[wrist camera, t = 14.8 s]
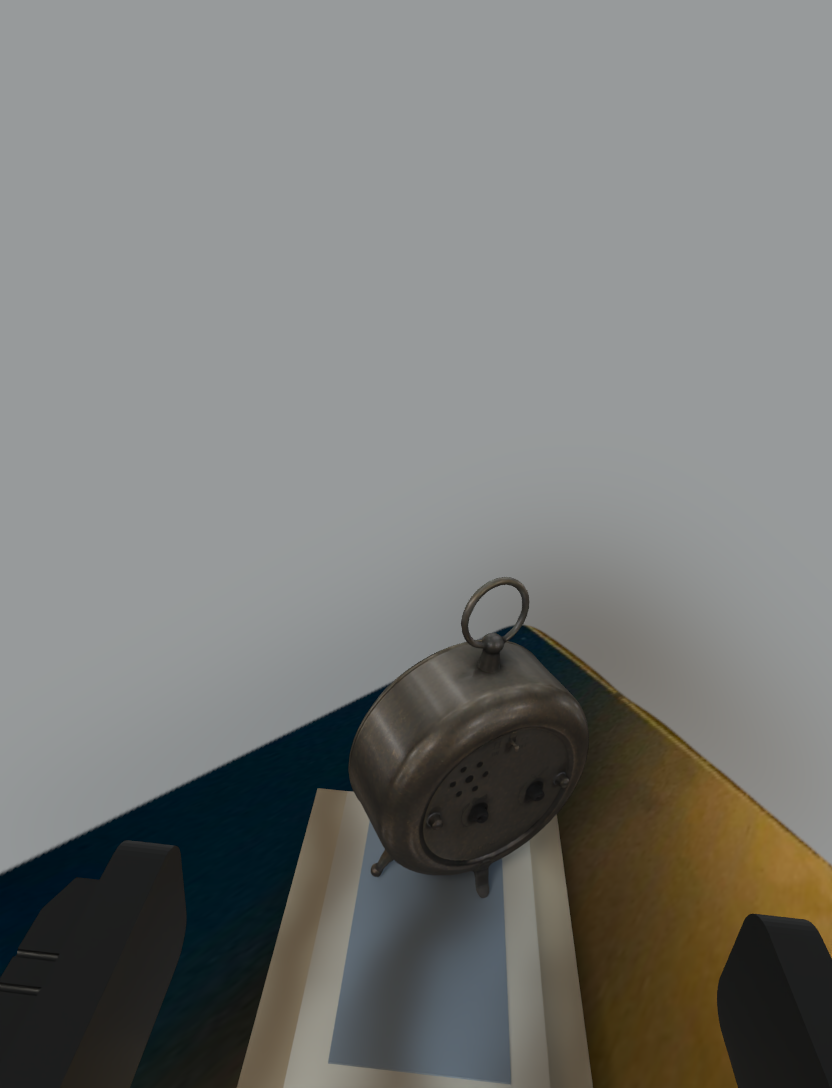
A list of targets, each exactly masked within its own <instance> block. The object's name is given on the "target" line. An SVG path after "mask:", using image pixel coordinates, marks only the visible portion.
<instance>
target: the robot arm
mask: <svg viewBox="0 0 832 1088" xmlns="http://www.w3.org/2000/svg"><path fill="white" fill-rule="evenodd" d="M185 928H186V905H185V895H184V884H183V874H182V864H181V854H180V850H179V848H178V847H177V846H172V845H164V844H155V843H146V842H137V841H128V840H127V841H124V842H122V843H121V844H120V845H119V846H118V848H117V849H116V851H115V852H114V854H113V856H112V858H111V860H110V861H109V863H108V865H107V867H106V869H105V871H104V873H103V874H102V876H101V878H100V880H95V879H87V878H78V877H76V878H75V879H74V880H73V881H72V882H71V883H70V884H69V885H67V886H66V887H65V888H64V889H63V890H62V891H61V892H60V893H59V894H58V895H57V896H55V897H54V898H53V899H52V900H51V901H50V902H49V903H48V904H47V905H46V906H44V907H43V908H42V909H41V911H40V913H39V914H38V916H37V918H36V919H35V921H34V923H33V924H32V926H31V928H30V929H29V931H28V933H27V934H26V936H25V938H24V939H23V941H22V943H21V944H20V946H19V948H18V952H17V955H16V956H15V957H13V958H12V959H11V961H10V963H9V964H8V966H7V968H6V969H5V971H4V973H3V974H2V976H1V978H0V1088H130V1086H131V1083H132V1080H133V1078H134V1075H135V1072H136V1070H137V1067H138V1065H139V1062H140V1059H141V1057H142V1054H143V1052H144V1049H145V1046H146V1044H147V1041H148V1038H149V1036H150V1033H151V1031H152V1028H153V1025H154V1023H155V1020H156V1017H157V1015H158V1012H159V1010H160V1007H161V1004H162V1002H163V999H164V996H165V994H166V991H167V989H168V986H169V983H170V981H171V978H172V976H173V973H174V970H175V968H176V965H177V962H178V959H179V956H180V953H181V949H182V945H183V940H184V935H185ZM717 1007H718V1016H719V1022H720V1027H721V1031H722V1034H723V1038H724V1041H725V1045H726V1048H727V1051H728V1055H729V1058H730V1061H731V1065H732V1068H733V1072H734V1075H735V1078H736V1082H737V1085H738V1088H832V959H831V956H830V954H829V952H828V950H827V948H826V946H825V944H824V942H823V939H822V937H821V935H820V934H819V932H818V930H817V929H816V927H815V926H814V925H813V924H812V923H811V922H809V921H807V920H804V919H795V918H786V917H777V916H768V915H760V914H750V915H748V916H747V917H746V918H745V920H744V922H743V925H742V927H741V929H740V932H739V934H738V936H737V939H736V941H735V944H734V946H733V948H732V951H731V953H730V955H729V958H728V960H727V962H726V965H725V967H724V970H723V972H722V974H721V977H720V980H719V984H718V991H717Z"/></svg>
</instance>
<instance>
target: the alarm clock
mask: <svg viewBox="0 0 832 1088" xmlns="http://www.w3.org/2000/svg"><path fill="white" fill-rule="evenodd" d="M506 584H507V585H511V586H513V587H515V588H517V590H518V591H519V592H520V594H521V597H522V611H521V614H520V616H519V618H518V621H517V622H516V624H515V626H514V627H513V628H512V629H511V630H510V631H509V632H508V633H507V634H506V635H505V636H503V637H501V636H500V635H498V634H496V633H489V634H487V635H485V636H484V637H483V639H482V640H473V638H472V637H471V636H470V633H469V630H468V622H469V617H470V615H471V613H472V611H473V608H474V607H475V605H476V603H477V602H478V601H479V599H480V598H481V597H482V596H483V595H484V594H485V593H486V592H488V591H489V590H491V589H493V588H495V587H497V586H500V585H506ZM528 609H529V595H528V592H527V590H526V589H525V587H524V586H523V585H522V583H520V582H519V581H518V580H516V579H514V578H510V577H502V578H497V579H494V580H492V581H489V582H488V583H486V584H485V585H483V586H482V587H481V588H480V589H478V590H477V591H476V592H475V593H474V595H473V596H472V597H471V598H470V600H469V602H468V603H467V605H466V608H465V610H464V612H463V615H462V621H461V626H462V633H463V635H464V638H465V640H466V641H467V642H464V643H461V644H457V645H454V646H451V647H448V648H446V649H443V650H441V651H439V652H436V653H434V654H432V655H430V656H429V657H427V658H425V659H423V660H422V661H420V662H418V663H417V664H415V665H414V666H412V667H411V668H410V669H408V670H407V671H405V672H404V673H403V674H402V675H400V676H399V677H398V678H397V679H395V680H394V681H393V682H392V683H391V684H390V685H389V686H388V687H387V688H386V689H385V690H384V691H383V692H382V694H381V695H380V696H379V697H378V699H377V700H376V701H375V703H374V704H373V705H372V707H371V708H370V709H369V711H368V712H367V714H366V716H365V717H364V719H363V721H362V723H361V725H360V726H359V728H358V731H357V733H356V735H355V738H354V741H353V744H352V747H351V752H350V756H349V777H350V782H351V786H352V789H353V791H354V793H355V795H356V797H357V799H358V800H359V801H360V803H361V804H362V806H363V808H364V810H365V812H366V814H367V816H368V818H369V820H370V822H371V824H372V826H373V828H374V830H375V832H376V834H377V836H378V838H379V840H380V841H381V843H382V845H383V847H384V849H385V850H384V852H383V853H382V855H381V857H380V859H379V861H378V863H375V864H373V865H372V867H371V874H372V875H373V876H374V877H379V876H380V875H381V873H382V872H383V869H384V868H385V867H386V866H387V865H388V864H389V863H390V862H391V861H393V860H395V861H396V862H397V863H398V864H400V865H401V866H403V867H404V868H407V869H409V870H411V871H414V872H417V873H421V874H426V875H439V876H444V875H455V874H461V873H466V872H470V871H473V872H474V875H475V885H476V891H477V893H478V895H479V897H481V898H485V897H487V896H488V894H489V881H488V876H489V866H490V865H491V863H493V862H495V861H497V860H500V859H501V858H503V857H505V856H507V855H509V854H510V853H512V852H513V851H515V850H516V849H518V848H519V847H521V846H522V845H524V844H525V843H526V842H528V841H529V840H530V839H531V838H533V837H534V836H535V835H536V834H537V833H538V832H540V831H541V830H542V829H543V828H544V827H545V826H546V825H547V824H548V823H549V822H550V821H551V820H552V819H553V818H554V817H555V816H556V814H557V813H558V812H559V811H560V809H561V808H562V807H563V805H564V804H565V803H566V801H567V800H568V798H569V797H570V795H571V794H572V792H573V790H574V788H575V787H576V785H577V783H578V781H579V779H580V776H581V774H582V771H583V769H584V765H585V762H586V759H587V753H588V746H589V732H588V725H587V721H586V717H585V714H584V712H583V710H582V708H581V706H580V704H579V703H578V701H577V700H576V699H575V698H574V697H573V696H572V695H571V694H570V692H569V691H568V690H567V689H566V688H565V687H564V686H563V685H562V684H561V683H560V682H559V681H558V680H557V679H556V678H555V677H554V676H553V675H552V674H551V673H550V672H549V671H548V670H547V669H546V668H545V667H544V666H543V665H542V664H541V663H540V662H539V661H538V660H537V658H536V657H535V656H534V655H533V654H532V653H531V652H530V651H528V650H527V649H525V648H524V647H522V646H520V645H518V644H516V643H512V642H509V641H508V640H509V639H511V638H512V637H513V636H514V635H515V634H516V633H517V631H518V630H519V629H520V627H521V626H522V624H523V623H524V621H525V618H526V616H527V612H528Z"/></svg>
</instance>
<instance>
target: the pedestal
mask: <svg viewBox="0 0 832 1088" xmlns="http://www.w3.org/2000/svg"><path fill="white" fill-rule="evenodd" d="M384 850H385V849H384V847H383V845H382V843H381V841H380V840H379V838H378V836H377V834H376V832H375V830H374V828H373V826H372V824H371V822H370V820H369V818H368V816H367V814H366V812H365V810H364V808H363V806H362V804H361V803H360V801H359V800H358V799H357V797H356V795H355V793H354V792H350V791H340V790H329V789H319V788H318V789H317V793H316V797H315V801H314V804H313V808H312V812H311V815H310V819H309V823H308V826H307V830H306V834H305V837H304V841H303V845H302V849H301V852H300V856H299V860H298V863H297V867H296V871H295V874H294V878H293V882H292V886H291V889H290V893H289V897H288V900H287V904H286V908H285V911H284V915H283V919H282V923H281V926H280V930H279V934H278V937H277V941H276V945H275V948H274V952H273V956H272V960H271V963H270V967H269V971H268V974H267V978H266V982H265V985H264V989H263V993H262V997H261V1000H260V1004H259V1008H258V1011H257V1015H256V1019H255V1022H254V1026H253V1030H252V1034H251V1037H250V1041H249V1045H248V1048H247V1052H246V1056H245V1059H244V1063H243V1067H242V1071H241V1074H240V1078H239V1082H238V1085H237V1088H593V1084H592V1076H591V1069H590V1061H589V1054H588V1046H587V1038H586V1031H585V1023H584V1016H583V1008H582V1001H581V993H580V986H579V978H578V971H577V963H576V955H575V948H574V940H573V933H572V925H571V918H570V910H569V903H568V895H567V888H566V880H565V873H564V865H563V857H562V850H561V842H560V835H559V827H558V820H557V814H556V816H555V817H554V818H553V819H552V820H551V821H550V822H549V823H548V824H547V825H546V826H545V827H544V828H543V829H542V830H541V831H540V832H538V833H537V834H536V835H535V836H534V837H533V838H531V839H530V840H529V841H528V842H526V843H525V844H524V845H522V846H521V847H519V848H518V849H516V850H515V851H513V852H512V853H510V854H509V855H507V856H505V857H503V858H501V859H500V860H497V861H495V862H493V863H491V865H490V866H489V876H488V881H489V894H488V896H487V897H485V898H481V897H479V895H478V893H477V891H476V885H475V875H474V872H473V871H470V872H466V873H461V874H455V875H444V876H439V875H426V874H421V873H417V872H414V871H411V870H409V869H407V868H404V867H403V866H401V865H400V864H398V863H397V862H396V861H395V860H393V861H391V862H390V863H389V864H388V865H387V866H386V867H385V868H384V869H383V872H382V873H381V875H380V876H379V877H374V876H373V875H372V874H371V867H372V865H373V864H375V863H378V861H379V859H380V857H381V855H382V853H383V852H384Z"/></svg>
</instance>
